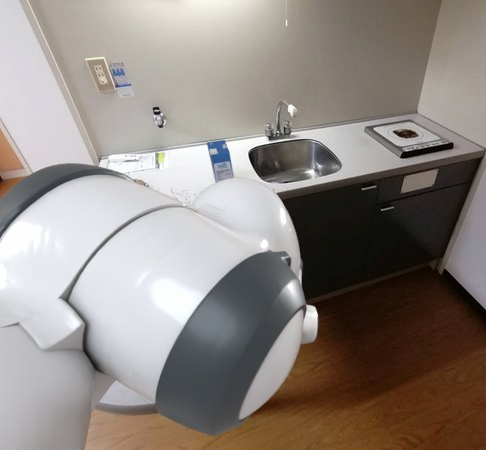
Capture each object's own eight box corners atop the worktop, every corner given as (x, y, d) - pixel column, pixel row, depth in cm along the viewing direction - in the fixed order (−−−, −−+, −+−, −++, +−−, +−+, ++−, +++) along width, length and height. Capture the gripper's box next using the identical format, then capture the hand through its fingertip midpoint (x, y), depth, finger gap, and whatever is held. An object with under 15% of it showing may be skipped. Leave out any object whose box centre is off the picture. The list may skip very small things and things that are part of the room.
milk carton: (238, 201, 113) (229, 151, 100) (221, 205, 112) (210, 155, 99) (233, 187, 120) (224, 139, 107) (217, 190, 119) (206, 142, 106)
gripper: (246, 276, 71) (187, 277, 71) (231, 363, 55) (155, 364, 55) (249, 293, 75) (193, 293, 75) (236, 379, 59) (165, 379, 60)
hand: (176, 324), depth 65 cm, fingers closed on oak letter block, 5 cm apart
